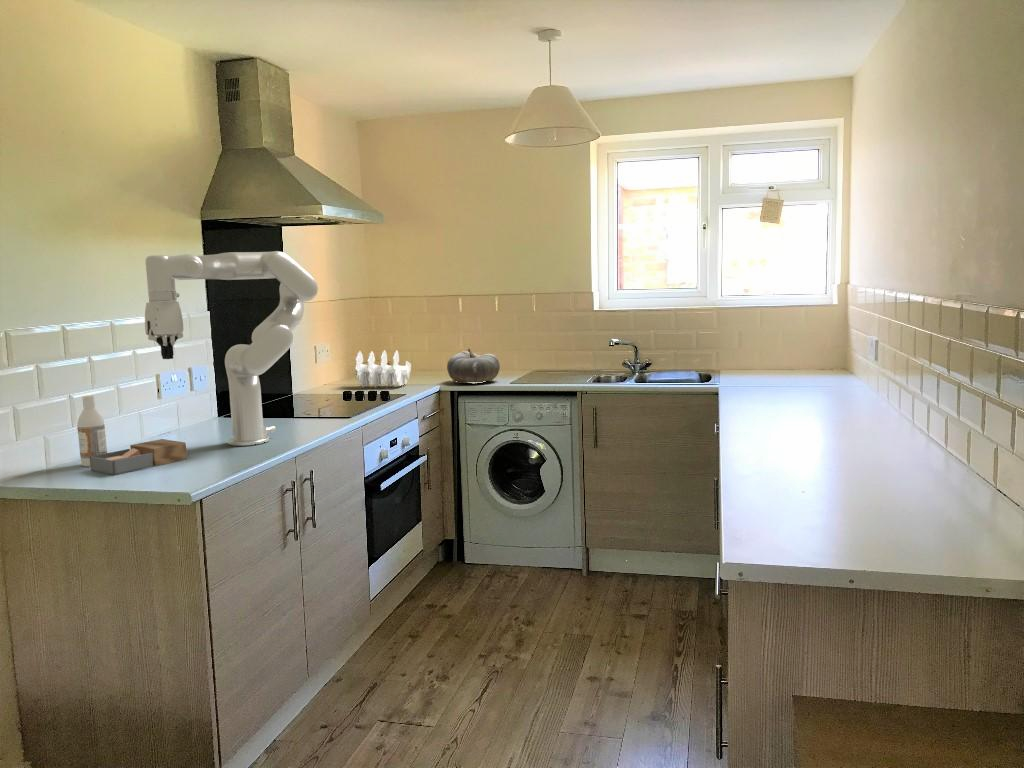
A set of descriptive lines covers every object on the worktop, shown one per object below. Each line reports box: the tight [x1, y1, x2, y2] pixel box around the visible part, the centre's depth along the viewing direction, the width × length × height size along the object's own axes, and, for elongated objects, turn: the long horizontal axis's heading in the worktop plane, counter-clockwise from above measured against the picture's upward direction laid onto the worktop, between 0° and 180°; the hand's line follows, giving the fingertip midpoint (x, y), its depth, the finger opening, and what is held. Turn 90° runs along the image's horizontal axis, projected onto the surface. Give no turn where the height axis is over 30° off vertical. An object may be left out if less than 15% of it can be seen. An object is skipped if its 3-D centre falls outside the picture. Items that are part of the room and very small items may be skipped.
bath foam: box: [76, 395, 108, 468], centre depth 232 cm, size 7×7×20 cm
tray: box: [90, 448, 155, 476], centre depth 226 cm, size 12×12×4 cm
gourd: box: [446, 348, 501, 383], centre depth 390 cm, size 25×25×17 cm
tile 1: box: [122, 448, 141, 458], centre depth 228 cm, size 4×4×3 cm
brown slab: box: [129, 438, 188, 467], centre depth 235 cm, size 10×12×5 cm
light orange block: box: [105, 456, 126, 460], centre depth 225 cm, size 4×4×3 cm
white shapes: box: [354, 349, 412, 389], centre depth 383 cm, size 18×18×25 cm
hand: (167, 358), depth 240 cm, fingers closed
